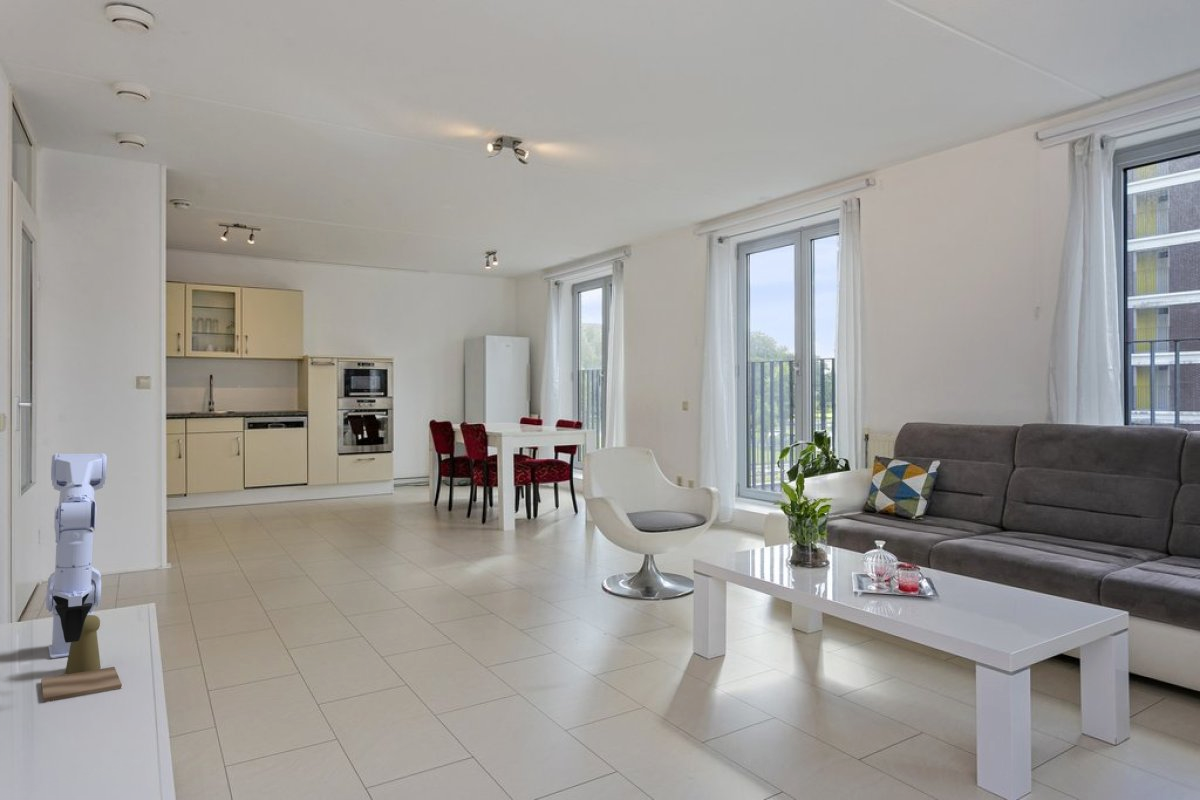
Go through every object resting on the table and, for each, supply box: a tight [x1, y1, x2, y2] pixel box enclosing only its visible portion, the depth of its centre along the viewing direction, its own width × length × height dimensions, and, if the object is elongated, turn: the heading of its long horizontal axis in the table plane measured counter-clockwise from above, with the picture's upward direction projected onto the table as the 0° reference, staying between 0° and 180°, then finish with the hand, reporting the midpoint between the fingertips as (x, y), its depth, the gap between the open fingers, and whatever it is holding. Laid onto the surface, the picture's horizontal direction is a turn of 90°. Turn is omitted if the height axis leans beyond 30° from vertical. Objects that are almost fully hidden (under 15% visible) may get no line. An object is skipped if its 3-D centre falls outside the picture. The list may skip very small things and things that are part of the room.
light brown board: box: [40, 666, 123, 703], centre depth 142 cm, size 12×12×1 cm
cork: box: [64, 614, 102, 675], centre depth 151 cm, size 6×6×11 cm
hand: (70, 636), depth 140 cm, fingers open, 7 cm apart
